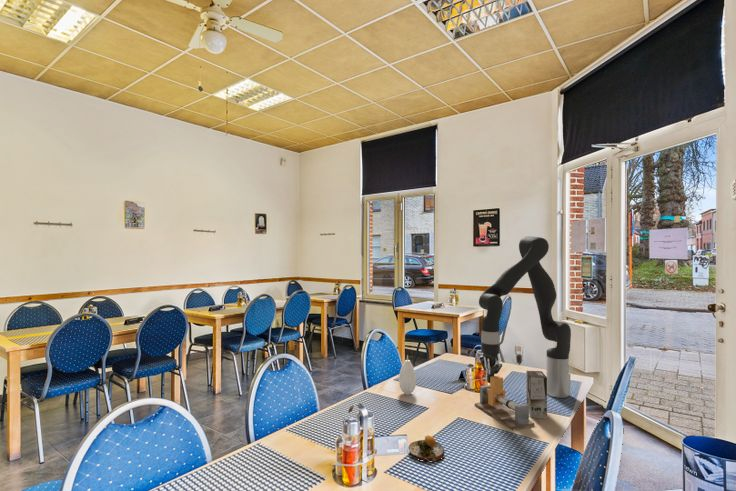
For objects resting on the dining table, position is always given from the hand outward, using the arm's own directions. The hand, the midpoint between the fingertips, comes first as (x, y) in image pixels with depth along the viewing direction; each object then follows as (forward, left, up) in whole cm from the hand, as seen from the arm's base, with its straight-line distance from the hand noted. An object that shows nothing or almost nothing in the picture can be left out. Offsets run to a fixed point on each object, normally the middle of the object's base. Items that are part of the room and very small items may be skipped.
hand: (490, 382), depth 172 cm
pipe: (0, +8, -10) cm, 13 cm away
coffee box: (-14, +11, -11) cm, 21 cm away
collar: (0, +4, -7) cm, 9 cm away
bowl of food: (+43, +24, -11) cm, 50 cm away
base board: (0, +8, -10) cm, 13 cm away
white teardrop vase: (+26, -26, -11) cm, 38 cm away
